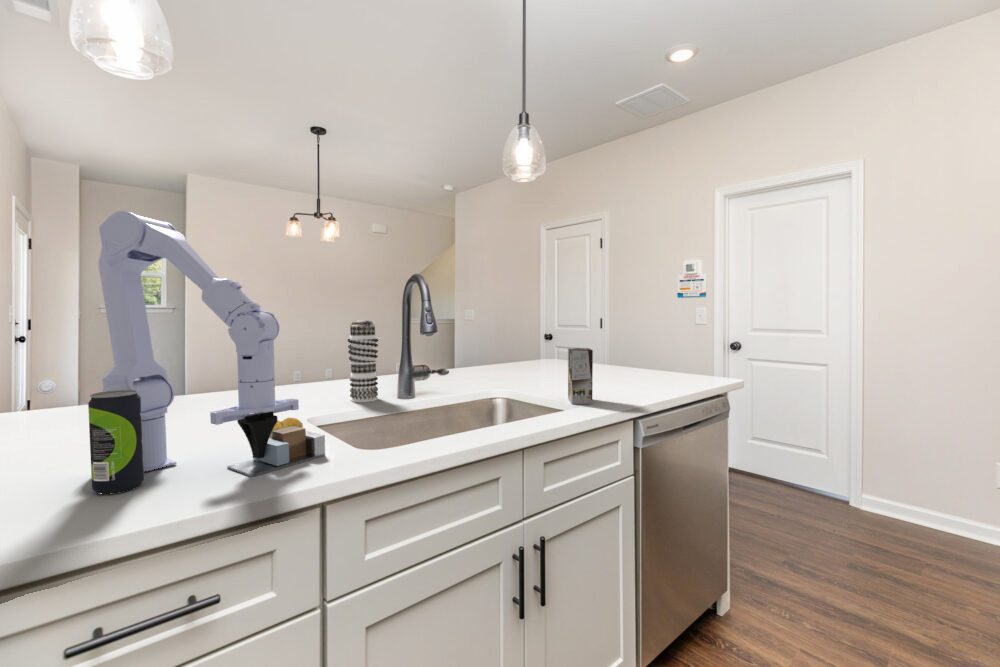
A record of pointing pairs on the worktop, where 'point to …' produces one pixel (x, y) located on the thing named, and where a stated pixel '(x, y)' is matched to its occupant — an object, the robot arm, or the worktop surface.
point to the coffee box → (580, 375)
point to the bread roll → (286, 424)
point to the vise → (313, 450)
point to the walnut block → (292, 440)
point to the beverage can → (115, 441)
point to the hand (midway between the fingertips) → (258, 457)
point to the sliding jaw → (276, 453)
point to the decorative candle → (363, 361)
